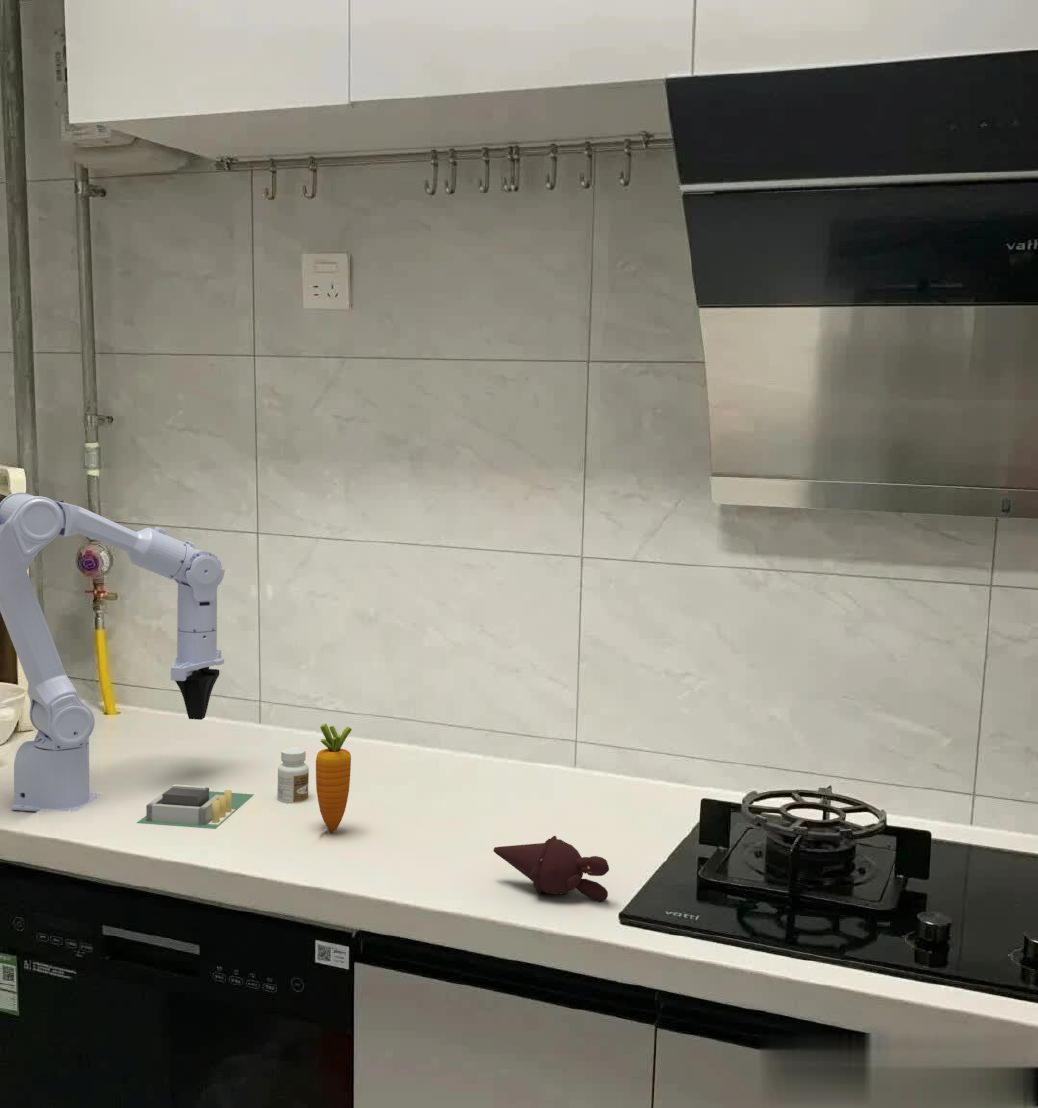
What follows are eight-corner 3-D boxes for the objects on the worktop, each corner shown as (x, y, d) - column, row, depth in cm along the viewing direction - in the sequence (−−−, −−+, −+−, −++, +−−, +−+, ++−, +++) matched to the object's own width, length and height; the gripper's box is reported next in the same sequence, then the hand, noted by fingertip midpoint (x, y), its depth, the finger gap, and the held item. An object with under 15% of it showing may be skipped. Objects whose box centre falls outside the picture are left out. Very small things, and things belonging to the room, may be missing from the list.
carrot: (356, 828, 158) (358, 720, 157) (341, 840, 154) (343, 729, 152) (323, 824, 160) (324, 717, 158) (307, 836, 155) (308, 725, 153)
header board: (136, 826, 156) (136, 800, 156) (181, 793, 171) (181, 769, 171) (215, 832, 155) (215, 806, 155) (254, 798, 170) (254, 774, 169)
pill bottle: (301, 808, 166) (302, 755, 165) (272, 805, 167) (273, 753, 166) (312, 799, 170) (313, 747, 170) (284, 796, 171) (285, 745, 170)
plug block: (162, 819, 158) (162, 791, 158) (174, 809, 162) (174, 783, 161) (197, 821, 157) (197, 794, 157) (209, 812, 161) (209, 785, 161)
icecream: (479, 840, 137) (597, 875, 131) (507, 809, 143) (621, 840, 137) (480, 889, 140) (595, 925, 134) (507, 856, 146) (619, 889, 140)
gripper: (204, 639, 166) (203, 731, 168) (240, 623, 181) (239, 708, 182) (156, 636, 167) (156, 728, 169) (196, 620, 182) (196, 706, 183)
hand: (196, 718), depth 175 cm, fingers closed
